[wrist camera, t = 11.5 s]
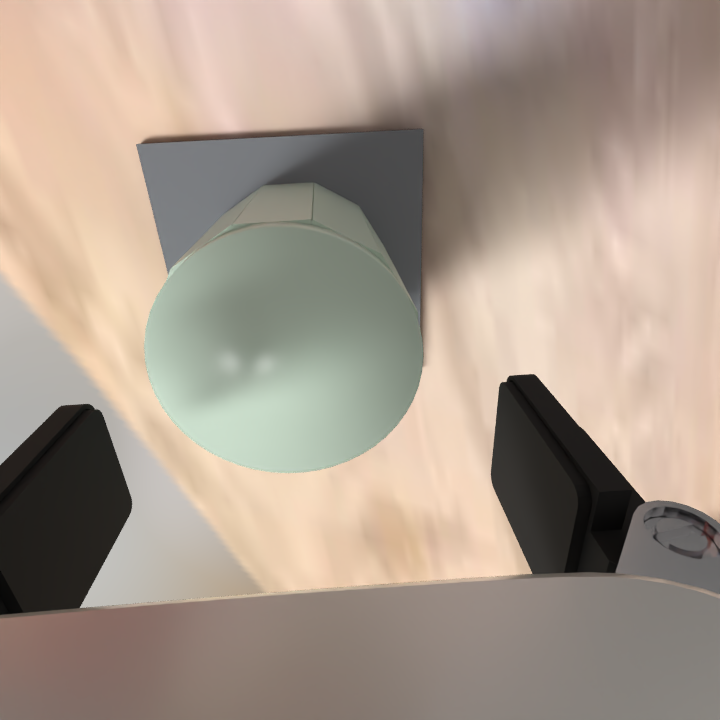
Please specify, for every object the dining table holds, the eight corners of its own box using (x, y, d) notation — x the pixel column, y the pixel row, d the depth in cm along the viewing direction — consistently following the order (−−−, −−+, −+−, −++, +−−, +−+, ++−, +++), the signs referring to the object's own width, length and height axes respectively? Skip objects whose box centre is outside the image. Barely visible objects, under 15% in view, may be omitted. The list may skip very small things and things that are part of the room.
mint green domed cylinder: (386, 345, 22) (421, 461, 15) (227, 358, 22) (180, 483, 14) (382, 177, 19) (426, 217, 11) (192, 189, 18) (106, 238, 11)
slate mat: (417, 370, 24) (419, 373, 23) (198, 387, 23) (197, 391, 23) (421, 128, 18) (423, 129, 18) (139, 143, 18) (136, 144, 17)
